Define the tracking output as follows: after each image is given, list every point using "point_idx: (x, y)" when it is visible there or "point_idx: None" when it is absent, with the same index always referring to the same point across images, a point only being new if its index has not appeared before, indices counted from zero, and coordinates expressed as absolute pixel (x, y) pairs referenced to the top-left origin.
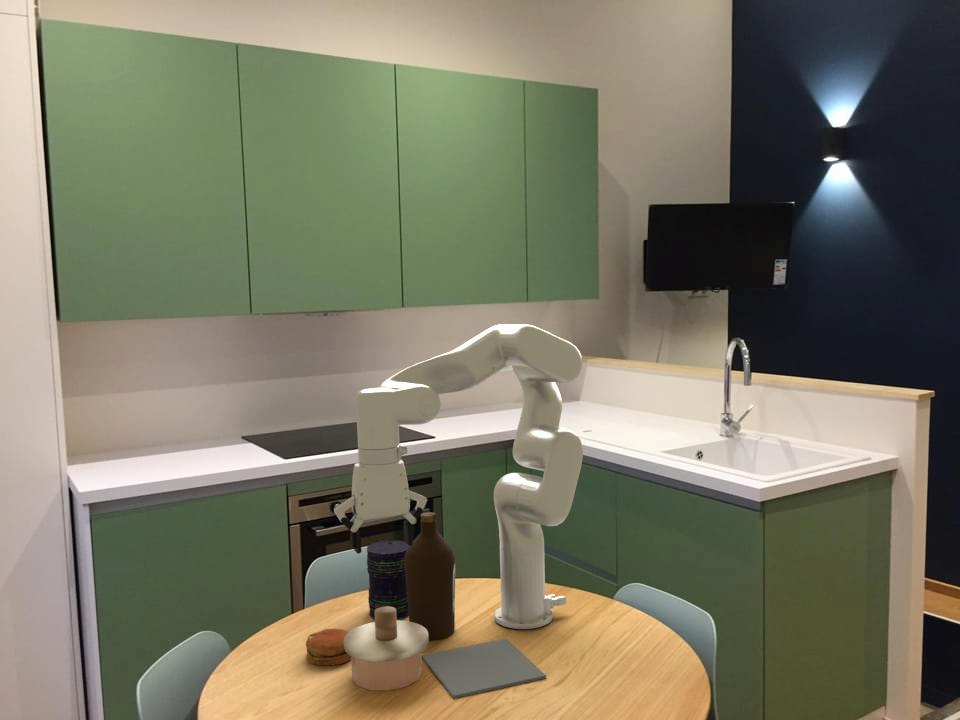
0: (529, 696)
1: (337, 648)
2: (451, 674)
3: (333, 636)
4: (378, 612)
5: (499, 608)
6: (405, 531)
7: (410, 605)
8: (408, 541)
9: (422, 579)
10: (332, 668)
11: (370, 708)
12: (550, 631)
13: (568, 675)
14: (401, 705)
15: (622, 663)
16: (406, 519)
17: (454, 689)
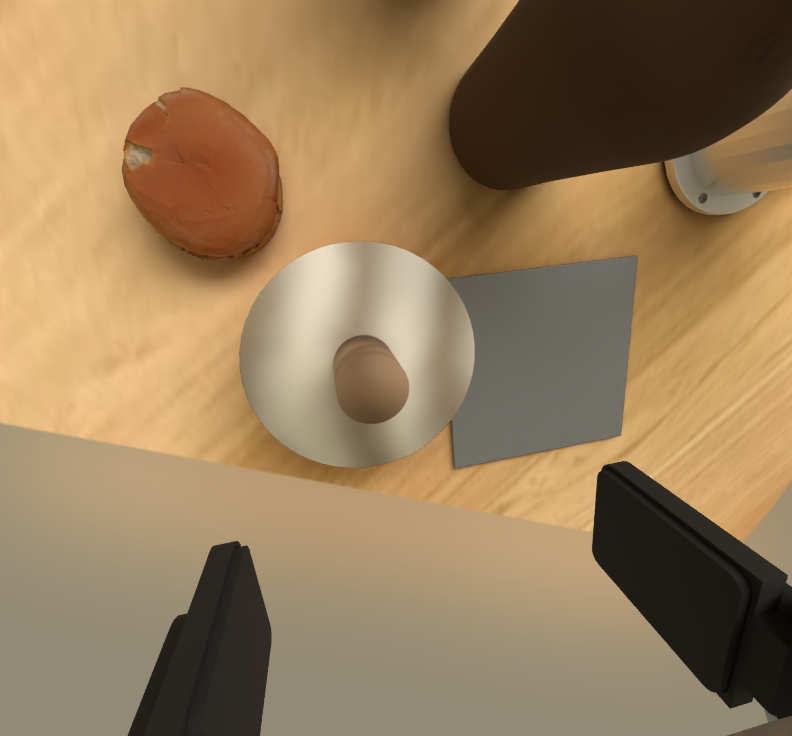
0: (566, 483)
1: (229, 251)
2: (476, 390)
3: (212, 195)
4: (348, 401)
5: None
6: (661, 570)
7: (482, 113)
8: (610, 575)
9: (570, 149)
10: (223, 267)
11: (303, 468)
12: (729, 238)
13: (652, 432)
14: (361, 469)
15: (742, 413)
16: (787, 679)
17: (463, 448)
